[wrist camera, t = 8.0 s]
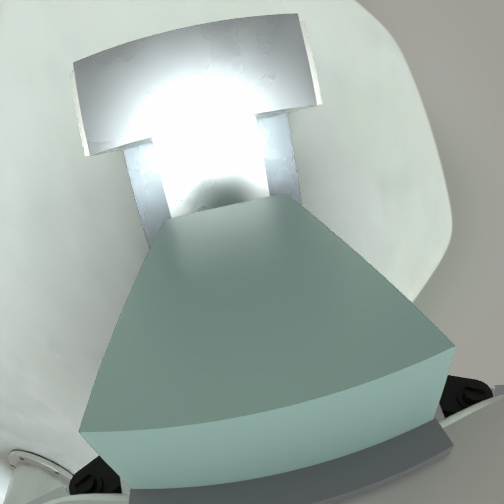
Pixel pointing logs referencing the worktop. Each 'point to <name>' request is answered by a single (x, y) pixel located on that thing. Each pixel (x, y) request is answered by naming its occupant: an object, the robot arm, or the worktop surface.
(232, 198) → the grey blocky piece
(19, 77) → the worktop surface
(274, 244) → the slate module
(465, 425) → the robot arm
